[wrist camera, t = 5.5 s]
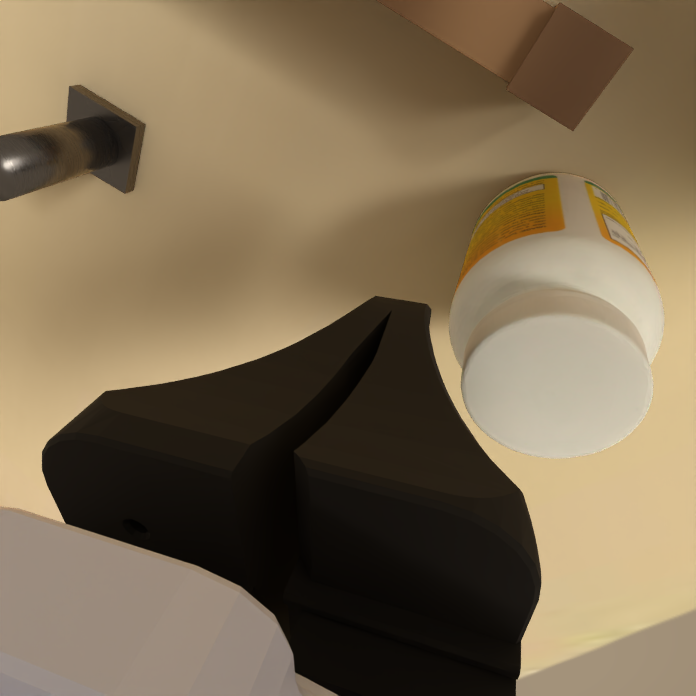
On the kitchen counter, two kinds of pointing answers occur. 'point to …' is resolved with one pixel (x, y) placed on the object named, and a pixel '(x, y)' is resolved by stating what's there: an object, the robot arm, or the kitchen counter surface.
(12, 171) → the latch post
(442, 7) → the brown wooden block
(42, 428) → the kitchen counter surface
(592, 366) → the supplement bottle
